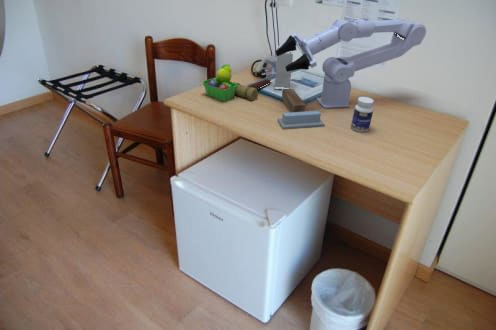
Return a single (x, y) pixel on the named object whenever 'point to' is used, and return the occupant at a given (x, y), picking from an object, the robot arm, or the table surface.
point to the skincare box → (283, 70)
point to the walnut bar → (292, 101)
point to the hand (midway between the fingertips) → (281, 61)
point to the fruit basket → (221, 85)
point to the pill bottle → (362, 114)
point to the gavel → (250, 90)
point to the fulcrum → (301, 120)
